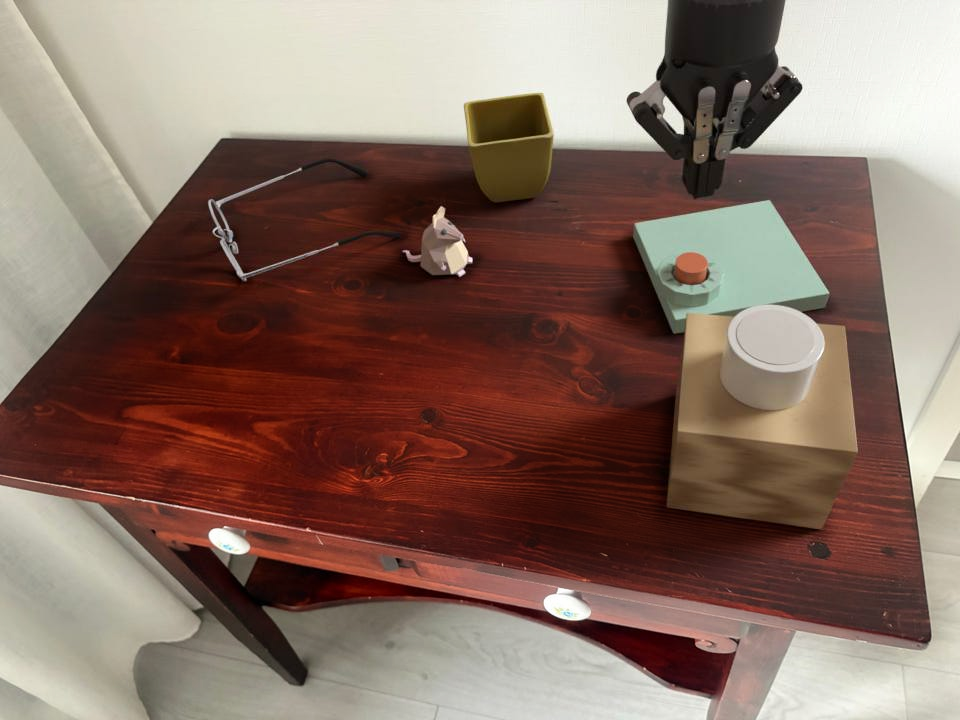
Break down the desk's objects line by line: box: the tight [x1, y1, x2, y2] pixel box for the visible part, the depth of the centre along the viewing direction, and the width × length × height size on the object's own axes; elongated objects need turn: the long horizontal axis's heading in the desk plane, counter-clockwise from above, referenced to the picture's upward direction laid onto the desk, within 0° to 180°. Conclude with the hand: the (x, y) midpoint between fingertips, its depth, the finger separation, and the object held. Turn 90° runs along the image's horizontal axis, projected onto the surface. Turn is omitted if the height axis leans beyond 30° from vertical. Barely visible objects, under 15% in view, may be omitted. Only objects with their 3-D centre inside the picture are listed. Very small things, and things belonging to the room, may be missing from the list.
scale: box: [632, 199, 830, 335], centre depth 72 cm, size 14×14×4 cm
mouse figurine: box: [402, 205, 473, 278], centre depth 76 cm, size 5×8×7 cm, turn 64°
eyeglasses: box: [207, 158, 404, 283], centre depth 83 cm, size 16×19×5 cm
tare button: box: [674, 252, 708, 285], centre depth 68 cm, size 3×3×2 cm
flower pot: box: [463, 92, 555, 203], centre depth 82 cm, size 9×9×9 cm
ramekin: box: [720, 305, 825, 410], centre depth 50 cm, size 6×6×4 cm
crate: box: [666, 313, 859, 530], centre depth 55 cm, size 11×11×10 cm
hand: (700, 192), depth 62 cm, fingers closed
